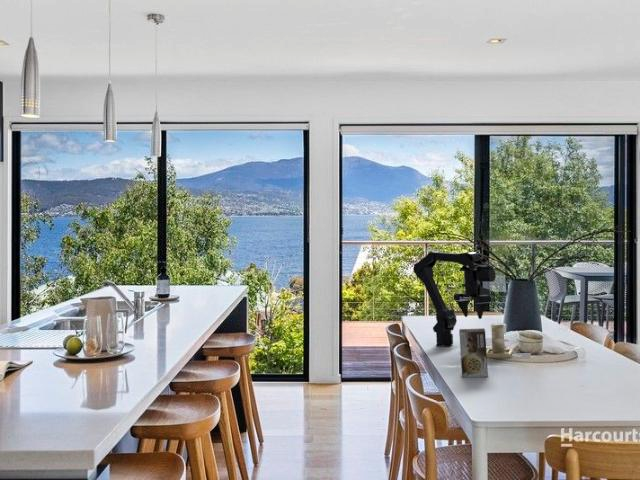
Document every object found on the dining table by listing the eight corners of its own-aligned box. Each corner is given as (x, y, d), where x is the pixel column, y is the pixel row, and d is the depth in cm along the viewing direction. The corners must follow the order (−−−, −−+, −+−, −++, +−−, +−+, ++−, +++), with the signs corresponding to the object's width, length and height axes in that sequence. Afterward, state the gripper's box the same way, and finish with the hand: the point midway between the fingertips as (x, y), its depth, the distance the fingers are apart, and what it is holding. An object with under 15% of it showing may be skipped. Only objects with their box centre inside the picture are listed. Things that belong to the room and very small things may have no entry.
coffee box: (487, 373, 239) (485, 328, 239) (488, 377, 233) (486, 330, 232) (461, 373, 241) (459, 328, 241) (461, 377, 235) (459, 331, 234)
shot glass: (507, 340, 301) (506, 325, 300) (491, 340, 302) (491, 325, 302) (506, 337, 307) (505, 322, 307) (491, 338, 309) (490, 323, 309)
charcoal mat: (466, 359, 264) (466, 357, 264) (474, 348, 287) (474, 346, 287) (529, 360, 256) (529, 358, 256) (533, 348, 278) (533, 346, 278)
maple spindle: (488, 355, 265) (487, 325, 265) (494, 352, 270) (493, 323, 270) (502, 356, 262) (501, 326, 261) (509, 354, 266) (507, 324, 266)
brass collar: (484, 357, 263) (484, 353, 263) (487, 352, 272) (487, 348, 272) (510, 357, 259) (510, 353, 259) (513, 352, 269) (512, 348, 269)
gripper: (500, 280, 282) (502, 317, 282) (472, 279, 298) (474, 313, 299) (479, 283, 277) (481, 320, 277) (452, 281, 293) (453, 316, 294)
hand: (473, 317), depth 287 cm, fingers open, 9 cm apart
